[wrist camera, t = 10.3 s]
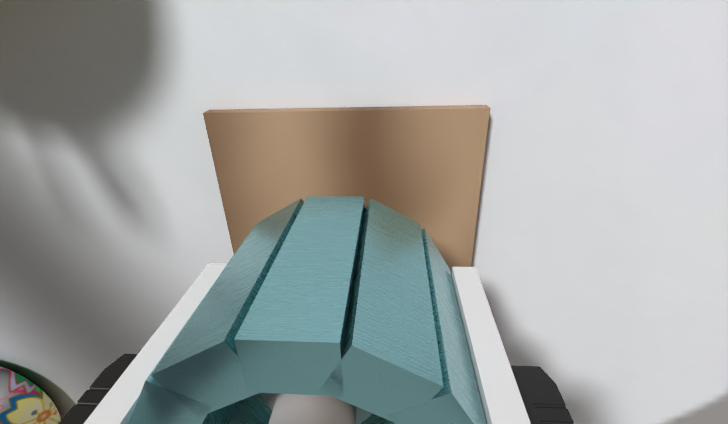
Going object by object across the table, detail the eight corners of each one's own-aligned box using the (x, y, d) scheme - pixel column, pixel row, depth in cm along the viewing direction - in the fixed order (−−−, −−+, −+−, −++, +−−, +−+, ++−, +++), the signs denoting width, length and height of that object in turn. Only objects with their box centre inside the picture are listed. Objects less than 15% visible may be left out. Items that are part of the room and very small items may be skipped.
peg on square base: (253, 318, 20) (150, 537, 11) (209, 110, 15) (-30, 220, 6) (461, 322, 19) (518, 562, 11) (486, 105, 14) (631, 223, 6)
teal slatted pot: (255, 364, 15) (180, 548, 10) (219, 196, 12) (75, 334, 6) (442, 371, 15) (470, 570, 9) (457, 196, 11) (517, 348, 6)
